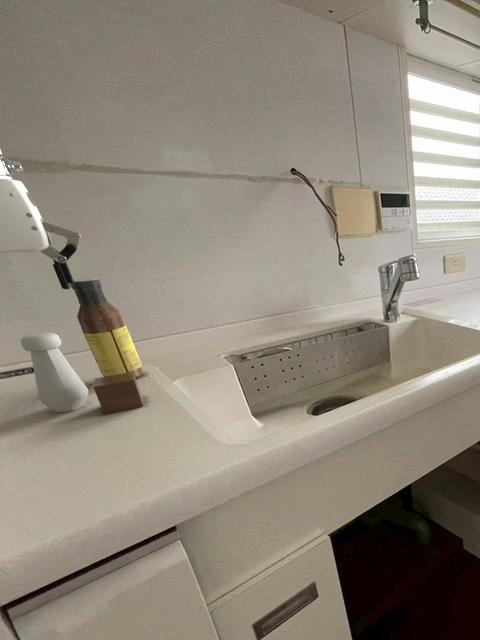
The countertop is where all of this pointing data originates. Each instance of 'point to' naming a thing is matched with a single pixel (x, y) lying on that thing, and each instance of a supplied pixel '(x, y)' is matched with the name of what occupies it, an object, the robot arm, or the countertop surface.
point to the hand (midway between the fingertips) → (22, 291)
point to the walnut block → (118, 392)
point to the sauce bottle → (105, 330)
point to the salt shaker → (54, 374)
